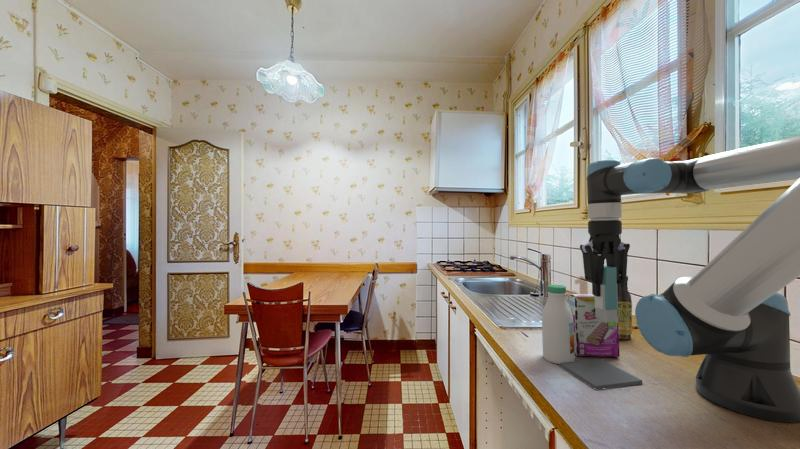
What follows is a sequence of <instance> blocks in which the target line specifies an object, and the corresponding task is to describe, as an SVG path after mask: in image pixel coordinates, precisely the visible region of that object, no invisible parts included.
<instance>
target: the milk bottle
mask: <svg viewBox="0 0 800 449" xmlns="http://www.w3.org/2000/svg"><path fill="white" fill-rule="evenodd" d="M546 290H547V292H546V293H547V294H548V296H547V301H546V303H545V305H544V307H543V310H542V315H541V316H542V318H541V319H542V320H541V332H542V333H541V334H542V340H541V341H542V356H543V358H544V359H545V360H546V361H548V362H550V363H552V364H556V365H557V364H558V365H560V363H566V362H575V357H576V356H575V355H576V354H574V325H573V316H572V312H571V310H570V308H569V303H568V302H567V299H566V295H567V286H565V285H561V284H548V285H547V287H546Z"/></svg>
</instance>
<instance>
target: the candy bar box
mask: <svg viewBox="0 0 800 449" xmlns="http://www.w3.org/2000/svg"><path fill="white" fill-rule="evenodd" d="M567 296H568V299H567V300H568V306H569V308H570V310H571V312H572V316H573V325H574V355H576V356H577V357H604V358H605V357H606V358H620V339H619V334H618V333H619V332H618V321H611V322H607V321H604V320H601V319H599V318H596V317H595V296H594V295H593V293H568V294H567ZM617 320H618V313H617Z"/></svg>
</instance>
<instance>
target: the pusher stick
mask: <svg viewBox="0 0 800 449" xmlns="http://www.w3.org/2000/svg"><path fill="white" fill-rule="evenodd" d="M596 279H597V278H596ZM602 284H604V285H605V310H602V309H599V308H596V307H595V317H596V318H599V319H601V320H604V321H607V322H611V321H618V320H617V273H616V267H611V266H607V265H605V264H604V270H603V278H602Z"/></svg>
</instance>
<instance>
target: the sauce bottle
mask: <svg viewBox="0 0 800 449" xmlns="http://www.w3.org/2000/svg"><path fill="white" fill-rule="evenodd" d="M622 281H623V283H622V284H619V295H618V309H617V313H618V332H619V333H618V334H619V340H630V339H631V338H632V334H633V330H632V329H633V327H632V326H633V302H632V295H631V293H630V291H629V290H628V282H629V276H628V275H627V274H626V280H625V281H624V280H622Z"/></svg>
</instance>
